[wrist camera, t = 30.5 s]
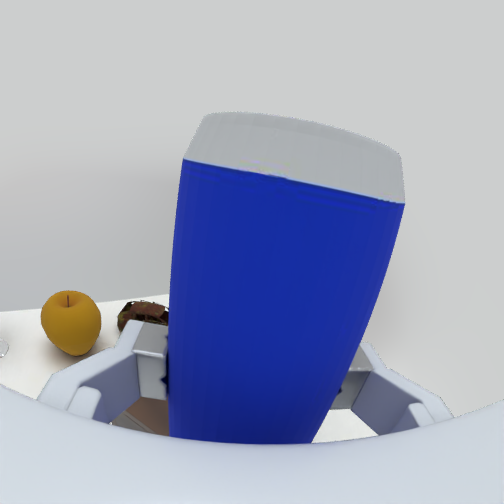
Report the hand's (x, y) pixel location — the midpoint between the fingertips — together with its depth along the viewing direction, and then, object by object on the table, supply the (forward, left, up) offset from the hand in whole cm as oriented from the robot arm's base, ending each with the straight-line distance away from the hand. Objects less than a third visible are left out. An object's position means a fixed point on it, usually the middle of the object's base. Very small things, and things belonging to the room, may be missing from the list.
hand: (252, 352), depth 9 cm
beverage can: (0, +1, -8) cm, 9 cm away
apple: (+22, -19, -22) cm, 37 cm away
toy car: (+12, -27, -22) cm, 37 cm away
